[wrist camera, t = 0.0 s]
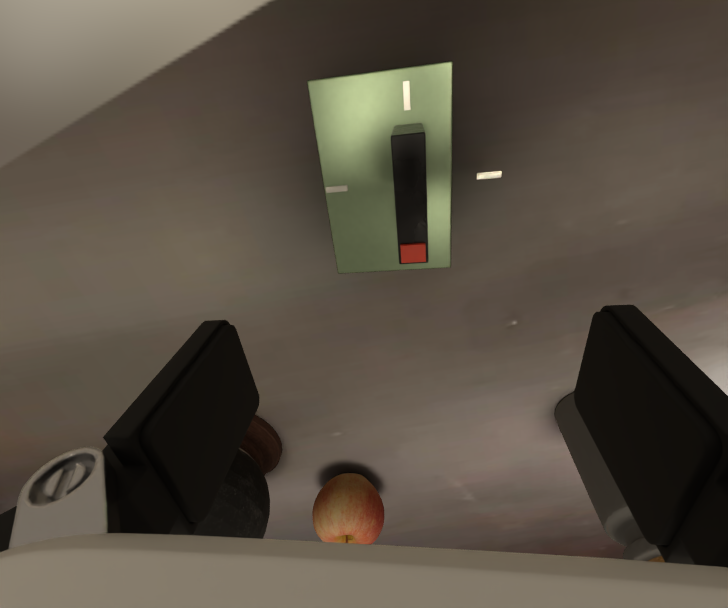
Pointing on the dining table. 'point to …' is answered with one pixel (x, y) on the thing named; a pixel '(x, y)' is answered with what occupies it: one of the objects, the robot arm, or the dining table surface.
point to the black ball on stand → (245, 487)
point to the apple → (348, 510)
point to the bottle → (602, 485)
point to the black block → (410, 192)
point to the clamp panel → (383, 160)
